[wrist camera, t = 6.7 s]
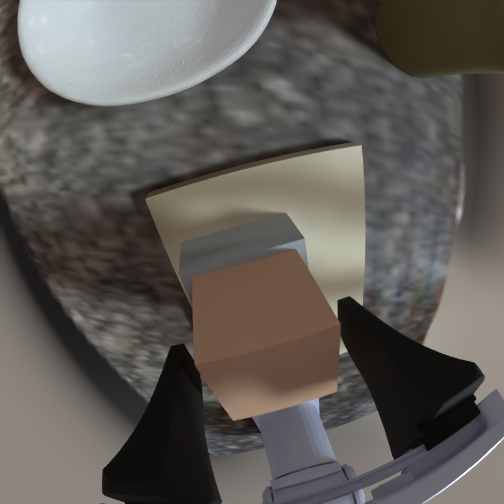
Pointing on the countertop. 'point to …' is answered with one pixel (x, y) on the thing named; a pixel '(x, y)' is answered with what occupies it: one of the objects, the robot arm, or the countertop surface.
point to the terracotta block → (264, 335)
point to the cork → (442, 36)
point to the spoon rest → (134, 44)
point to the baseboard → (274, 192)
